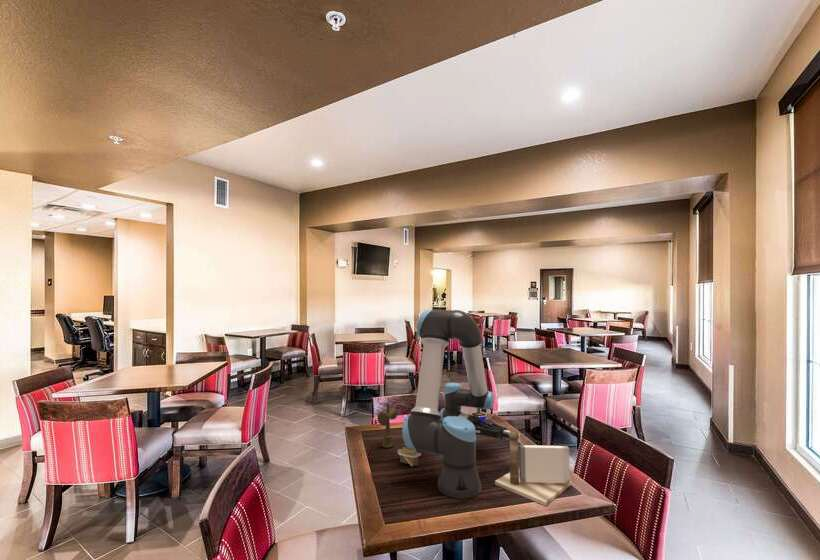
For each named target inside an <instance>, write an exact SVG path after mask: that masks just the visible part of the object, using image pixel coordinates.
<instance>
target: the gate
mask: <svg viewBox="0 0 820 560" xmlns="http://www.w3.org/2000/svg"><path fill="white" fill-rule="evenodd" d="M518 448H519V476H520V481H521V482H541V483H570V481H571V474H570V473H571V471H570V470H571V469H570V468H571V467H570V448H569V447H568V445H539V444H538V445H534V444H533V445H531V444H529V445H528V444H526V445H525V444H520V445H519V444H518Z"/></svg>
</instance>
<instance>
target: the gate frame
mask: <svg viewBox="0 0 820 560" xmlns="http://www.w3.org/2000/svg"><path fill="white" fill-rule="evenodd" d="M519 434H520V433H519V432H517V431H516V430H511V432H510V433H509V438H510V440H509V472H508V473H506V474H504V475H503V476H501V477H499V478H498V479H496V480H495V481H494V484H495V486H498V487H500V488H502V489H504V490H507V491H509V492H512V493H514V494H516V495H519V496H521V497H524V498H525V499H529V500H530V501H532V502H536V503H538V504H540V505H543V506H545V507H547V505H549V504H550V503H552V501H554V500H555V499H556V498H558V497H559V496H560V495H561V494H562V493H563V492H564V491H565V490H567V489H569V487H570V486H572V483H573V482H572V480H570V483H541V482H521V481H520V476H519V442H518V439H519Z"/></svg>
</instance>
